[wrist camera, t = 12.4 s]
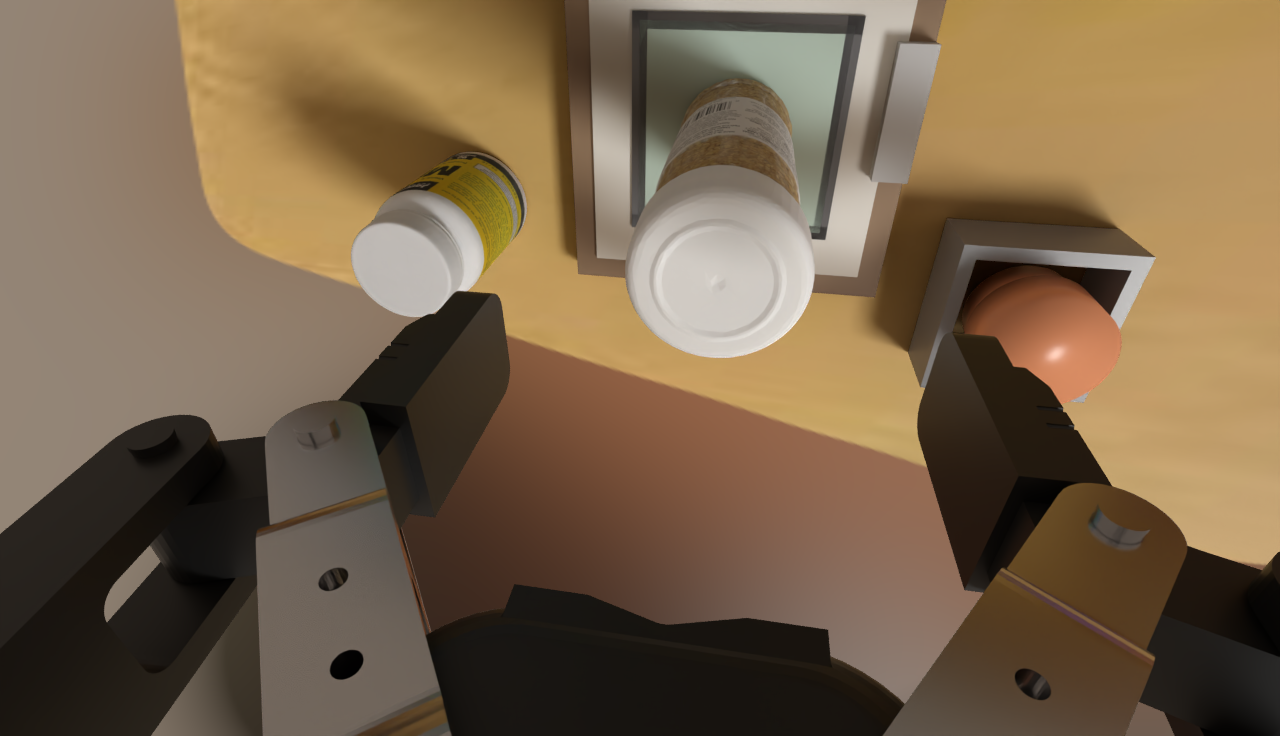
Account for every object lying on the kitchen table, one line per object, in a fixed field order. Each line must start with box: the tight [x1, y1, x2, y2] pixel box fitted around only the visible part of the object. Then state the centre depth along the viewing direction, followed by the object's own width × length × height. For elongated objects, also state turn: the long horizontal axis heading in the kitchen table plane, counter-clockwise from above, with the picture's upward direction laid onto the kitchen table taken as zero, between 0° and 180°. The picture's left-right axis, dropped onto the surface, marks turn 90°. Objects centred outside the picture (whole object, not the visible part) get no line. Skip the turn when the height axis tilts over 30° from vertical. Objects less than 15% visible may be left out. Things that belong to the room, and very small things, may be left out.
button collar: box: [908, 218, 1156, 403], centre depth 28 cm, size 7×7×3 cm
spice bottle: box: [625, 78, 815, 358], centre depth 20 cm, size 5×5×14 cm
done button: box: [962, 266, 1122, 404], centre depth 26 cm, size 5×5×4 cm
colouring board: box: [564, 0, 946, 297], centre depth 26 cm, size 16×14×2 cm
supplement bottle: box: [351, 152, 527, 317], centre depth 27 cm, size 5×5×8 cm
